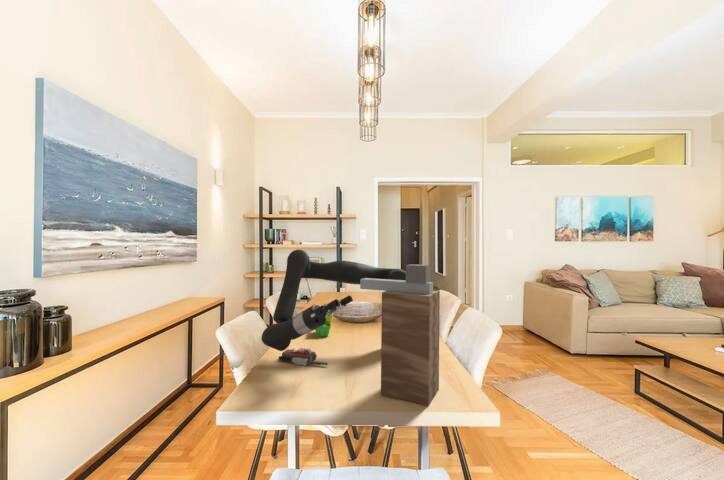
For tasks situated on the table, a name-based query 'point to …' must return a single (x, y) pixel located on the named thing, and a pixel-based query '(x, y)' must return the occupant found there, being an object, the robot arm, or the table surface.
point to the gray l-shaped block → (403, 281)
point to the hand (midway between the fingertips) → (345, 299)
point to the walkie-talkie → (300, 357)
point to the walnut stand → (410, 346)
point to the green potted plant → (324, 327)
